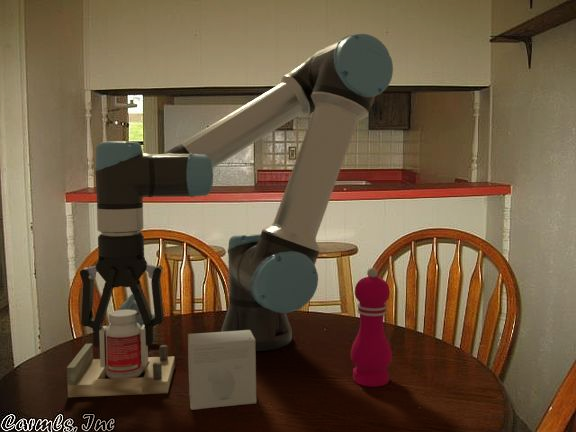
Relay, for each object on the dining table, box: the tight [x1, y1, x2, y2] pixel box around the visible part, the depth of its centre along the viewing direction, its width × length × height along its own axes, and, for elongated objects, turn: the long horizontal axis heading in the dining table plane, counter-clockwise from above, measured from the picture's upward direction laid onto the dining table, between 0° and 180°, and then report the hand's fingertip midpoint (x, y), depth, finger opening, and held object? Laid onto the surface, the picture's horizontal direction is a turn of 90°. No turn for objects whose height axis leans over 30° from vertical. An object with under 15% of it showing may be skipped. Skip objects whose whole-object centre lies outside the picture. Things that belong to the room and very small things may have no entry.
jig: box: [66, 343, 176, 398], centre depth 97 cm, size 16×12×5 cm
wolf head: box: [118, 293, 157, 327], centre depth 119 cm, size 6×9×10 cm
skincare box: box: [187, 330, 258, 411], centre depth 90 cm, size 10×6×10 cm, turn 102°
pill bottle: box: [105, 309, 143, 379], centre depth 97 cm, size 6×6×11 cm
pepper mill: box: [350, 267, 393, 388], centre depth 97 cm, size 7×7×20 cm
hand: (124, 363), depth 97 cm, fingers closed on pill bottle, 6 cm apart
